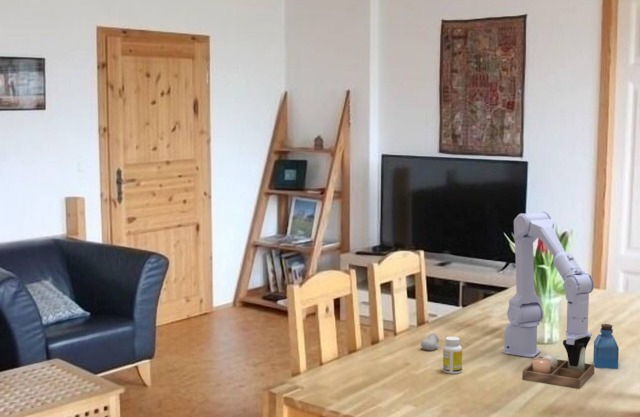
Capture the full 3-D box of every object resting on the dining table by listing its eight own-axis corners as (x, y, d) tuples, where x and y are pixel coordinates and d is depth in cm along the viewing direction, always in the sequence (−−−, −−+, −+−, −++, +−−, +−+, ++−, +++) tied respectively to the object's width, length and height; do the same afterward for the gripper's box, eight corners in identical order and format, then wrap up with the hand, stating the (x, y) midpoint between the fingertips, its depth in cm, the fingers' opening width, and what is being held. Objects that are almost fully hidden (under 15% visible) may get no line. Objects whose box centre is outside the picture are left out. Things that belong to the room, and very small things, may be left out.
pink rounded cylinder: (530, 378, 240) (530, 361, 240) (535, 374, 244) (535, 357, 244) (547, 381, 238) (547, 363, 237) (552, 376, 242) (552, 359, 241)
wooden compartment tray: (522, 379, 240) (522, 370, 239) (539, 364, 253) (539, 356, 253) (579, 388, 231) (579, 379, 231) (594, 372, 245) (594, 364, 244)
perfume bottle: (618, 368, 248) (619, 328, 247) (595, 367, 250) (596, 327, 248) (615, 362, 254) (616, 323, 253) (593, 361, 256) (594, 322, 254)
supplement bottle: (463, 369, 249) (463, 336, 248) (460, 375, 244) (460, 341, 243) (444, 367, 251) (445, 335, 249) (441, 373, 246) (441, 339, 244)
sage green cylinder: (565, 370, 243) (566, 348, 242) (570, 366, 246) (571, 344, 246) (581, 373, 240) (582, 350, 239) (586, 369, 244) (587, 346, 243)
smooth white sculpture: (431, 356, 267) (417, 349, 269) (441, 349, 273) (427, 342, 276) (435, 344, 265) (421, 337, 268) (445, 337, 272) (431, 330, 275)
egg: (539, 371, 247) (539, 355, 246) (543, 367, 251) (544, 351, 250) (554, 373, 244) (555, 358, 244) (559, 369, 248) (560, 354, 248)
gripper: (585, 323, 233) (583, 372, 235) (598, 312, 245) (597, 358, 247) (559, 320, 237) (558, 368, 239) (573, 309, 249) (572, 355, 251)
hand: (576, 363), depth 243 cm, fingers closed on sage green cylinder, 5 cm apart
